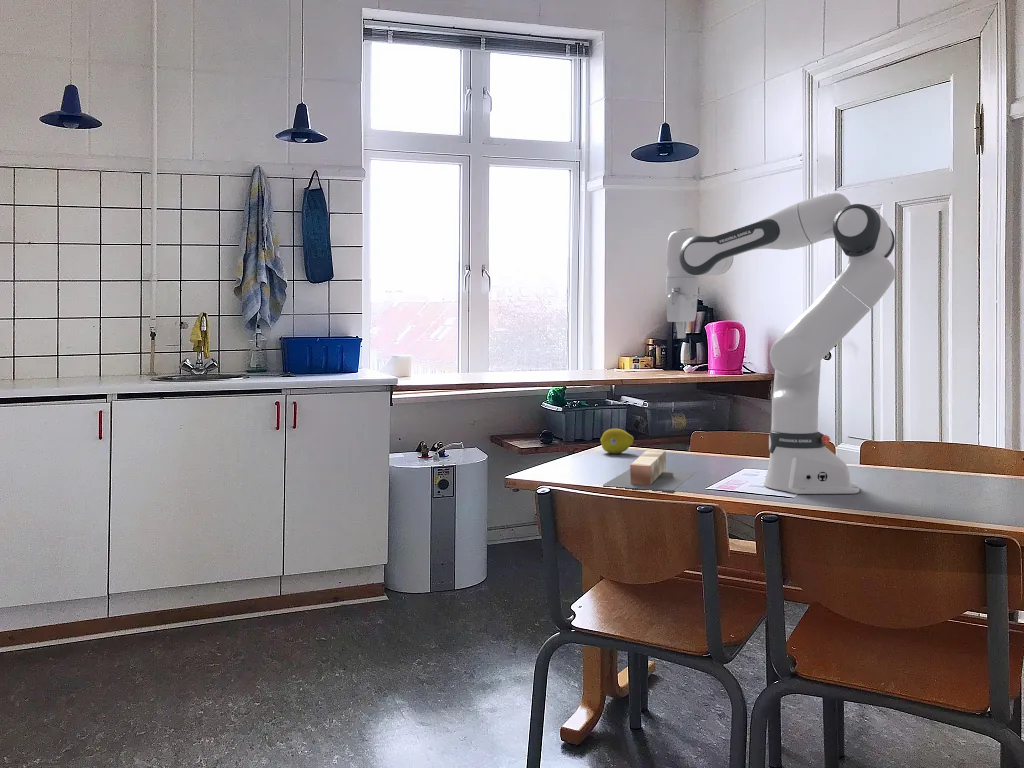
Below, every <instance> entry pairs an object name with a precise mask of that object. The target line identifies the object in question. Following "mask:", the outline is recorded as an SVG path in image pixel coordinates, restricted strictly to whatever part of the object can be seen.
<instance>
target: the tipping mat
mask: <svg viewBox="0 0 1024 768" xmlns="http://www.w3.org/2000/svg"><path fill="white" fill-rule="evenodd" d="M696 473H697V472H696V471H686V470H685V471H684V470H674V469H673V470H672V469H671V470H670V469H665V470H664V471H663V472H662V473H661V474H660V475H659V476H658V477H657V478H656V479H655V481H654V482H653V483H652V484H651V485H639V484H631V477H630V468H629V469H628V470H626V471H624V472H622V473H621V474H618V475H616V476H615V477H614V478H612V479H611V480H609V481H607V482H606V483H604V484H602V488H603V487H616V488H625V489H632V490H631V491H636V490H652V491H662V492H667V493H666V494H675V493H674V492H677V490H676V489H677V488H678V487H679V486H681V485H683V483H685V482H686V481H687V480H689V479H690V477H692V476H693V475H695V474H696Z"/></svg>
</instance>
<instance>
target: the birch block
mask: <svg viewBox="0 0 1024 768" xmlns="http://www.w3.org/2000/svg"><path fill="white" fill-rule="evenodd" d="M666 452H667V451H666V450H663V449H646V450H645V451H644V452H643V453H642V454H640V456H637V458H636V459H635V460H633V462H631V464H629V467H630V468H629V469H630V477H631V484H639V485H651V484H652V483H653V482H654V481H655V479H656V478H657V477H658V476H659V475H660V474H661V473H662V472H663V471H664V470H667V469H666V468H667V461H666V460H667V459H666V458H667V457H666V455H667V454H666Z"/></svg>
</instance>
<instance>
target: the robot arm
mask: <svg viewBox="0 0 1024 768" xmlns="http://www.w3.org/2000/svg"><path fill="white" fill-rule="evenodd" d="M827 239H835V241H836V242H837V244H838V245H839V246H840V249H842V251H843V253H844V255H845V256H847V257H848V263H847V265H846V266H845V268H844V269H843V270H842V271H841V273H840V274H839V275H838V276H836V278H835V279H834V280H833V281H832V282H831V283H830V284H829V285H828V286H827V288H825V289H824V291H823V292H822V293H821V294H819V296H818V297H817V298H816V299H815V300H814V301H813V302H812V304H810V305H809V306H808V307H807V308H806V309H805V310H804V311H803V312H802V313H801V314H800V315H799V316H798V317H797V318H796V319H795V320H794V321H793V322H792V323H791V324H790V325H789V326H788V327H787V328H786V330H784V331H783V332H782V333H781V335H779V336H778V337H777V338H776V339H775V341H774V342H773V343H772V345H771V347H770V351H769V360H770V364H771V366H772V368H773V369H774V376H773V377H774V378H773V389H772V397H771V429H770V430H769V435H768V450H769V460H768V466H767V470H766V471H767V472H766V476H765V478H764V482H763V486H764V487H766V488H770V489H771V490H773V489H774V490H777V491H782V492H783V491H784V492H787V493H791V494H797V495H801V494H802V495H805V494H806V495H809V494H810V495H812V494H813V495H818V494H820V495H824V494H825V495H826V494H827V495H828V494H829V495H830V494H837V495H838V494H842V495H843V494H858V493H859V492H860V486H859V484H858V483H857V482H854V481H852V480H851V477H850V471H849V467H848V465H847V463H845V461H843V459H841V458H840V457H839V456H837V455H836V454H835V453H834V452H832V451H831V450H830V449H829V448H827V447H826V445H828V444H830V443H831V437H830V436H828V435H827V434H823V433H822V432H820V431H819V429H818V426H819V398H820V397H819V395H820V382H821V381H820V380H821V378H820V377H821V363H822V360H823V359H824V358H825V357H826V356H827V354H829V353H830V352H831V351H832V350H833V349H834V348H835V346H837V345H838V344H839V343H840V342H841V341H842V340H843V338H845V336H847V335H848V334H849V333H850V332H851V331H852V329H853V328H855V327H856V325H857V324H858V323H859V322H860V321H861V320H862V319H864V317H865V316H866V315H867V314H868V313H869V312H870V311H871V310H872V308H874V307H875V305H877V303H878V302H879V301H880V300H881V299H882V297H883V296H884V295H885V293H886V292H887V291H888V289H889V288H890V286H891V285H892V284H893V281H894V280H895V277H896V270H895V267H894V266H893V264H892V262H891V261H890V260H889V259H888V258H889V257H890V256H891V254H892V253H893V250H894V248H895V241H896V240H895V235H894V231H893V229H891V227H889V225H888V221H886V219H885V218H884V217H883V216H882V215H881V214H879V213H878V212H877V210H875V209H874V208H873V207H871V206H869V205H866V204H863V203H854V204H851V202H850V200H849V199H848V198H847V197H846V196H845V195H844V194H841V193H838V192H833V193H828V194H824V195H819V196H816V197H815V196H814V197H812V198H808V199H804V200H802V201H800V202H797V203H794V204H792V205H789V206H787V207H785V208H782V209H780V210H778V211H777V212H774V213H773V214H771V215H769V216H767V217H764V218H762V219H760V220H758V221H754V223H750V224H748V225H745V226H741V227H739V228H736V229H733V230H729V231H727V232H724V233H721V234H719V235H714V236H706V235H704V234H702V233H700V232H698V230H697V229H695V228H681V229H677V230H675V231H673V232H671V233H670V234H669V236H668V237H667V242H666V249H665V250H666V251H665V265H666V268H667V269H666V270H667V271H666V275H665V295H666V296H668V297H667V305H666V320H667V322H669V323H675V328H676V337H677V339H686V338H687V329H688V322H695V321H696V317H697V310H698V309H697V308H698V296H699V295H700V288H699V287H700V286H699V276H700V275H701V276H702V275H704V276H720V275H723V274H725V273H726V272H728V271H729V269H730V268H731V267H732V265H733V262H734V257H735V256H738V255H741V254H744V253H748V252H749V251H750V252H751V251H755V250H770V249H771V250H780V251H784V250H785V251H787V250H795V249H799V248H804V247H809V246H810V245H814V244H816V243H818V242H822V241H825V240H827Z"/></svg>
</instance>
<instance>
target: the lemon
mask: <svg viewBox="0 0 1024 768" xmlns="http://www.w3.org/2000/svg"><path fill="white" fill-rule="evenodd" d="M599 441H600V444H601V447H602V449H603V450H604V451H605V452H607V453H608V454H613V455H617V454H618V455H619V454H622V453H623V452H625V451H627V450H628V449H629V448H630V446H632V445H633V443H634V436H633V435H631V434H630V433H628V432H627V431H626V430H623V429H620V428H610V429H607V430H605V431H604V432H603V433H602V436H601V437H600V440H599Z"/></svg>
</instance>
